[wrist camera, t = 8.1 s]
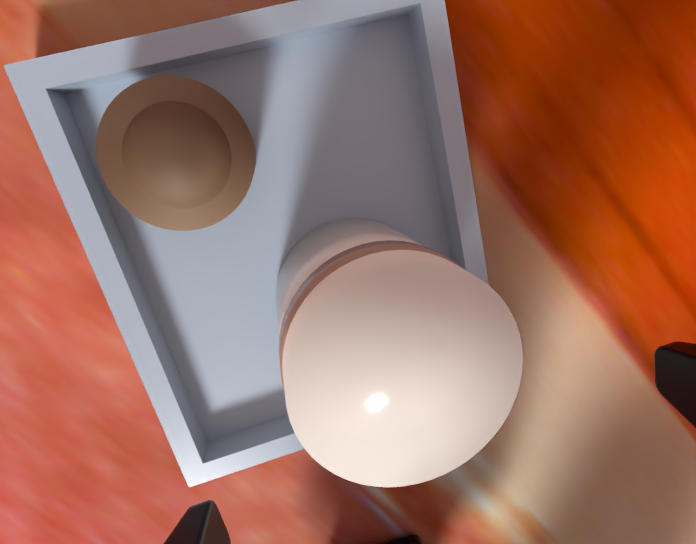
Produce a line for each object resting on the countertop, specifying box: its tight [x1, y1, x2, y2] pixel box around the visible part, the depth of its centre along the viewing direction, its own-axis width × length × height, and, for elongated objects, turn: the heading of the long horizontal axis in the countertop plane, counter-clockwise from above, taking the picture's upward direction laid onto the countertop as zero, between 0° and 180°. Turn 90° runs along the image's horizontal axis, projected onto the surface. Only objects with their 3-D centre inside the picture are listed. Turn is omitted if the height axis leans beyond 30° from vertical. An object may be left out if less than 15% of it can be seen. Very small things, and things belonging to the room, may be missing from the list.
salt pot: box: [96, 76, 256, 231], centre depth 13 cm, size 4×4×4 cm
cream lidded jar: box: [275, 218, 523, 487], centre depth 14 cm, size 6×6×7 cm
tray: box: [3, 0, 489, 487], centre depth 16 cm, size 15×13×2 cm
